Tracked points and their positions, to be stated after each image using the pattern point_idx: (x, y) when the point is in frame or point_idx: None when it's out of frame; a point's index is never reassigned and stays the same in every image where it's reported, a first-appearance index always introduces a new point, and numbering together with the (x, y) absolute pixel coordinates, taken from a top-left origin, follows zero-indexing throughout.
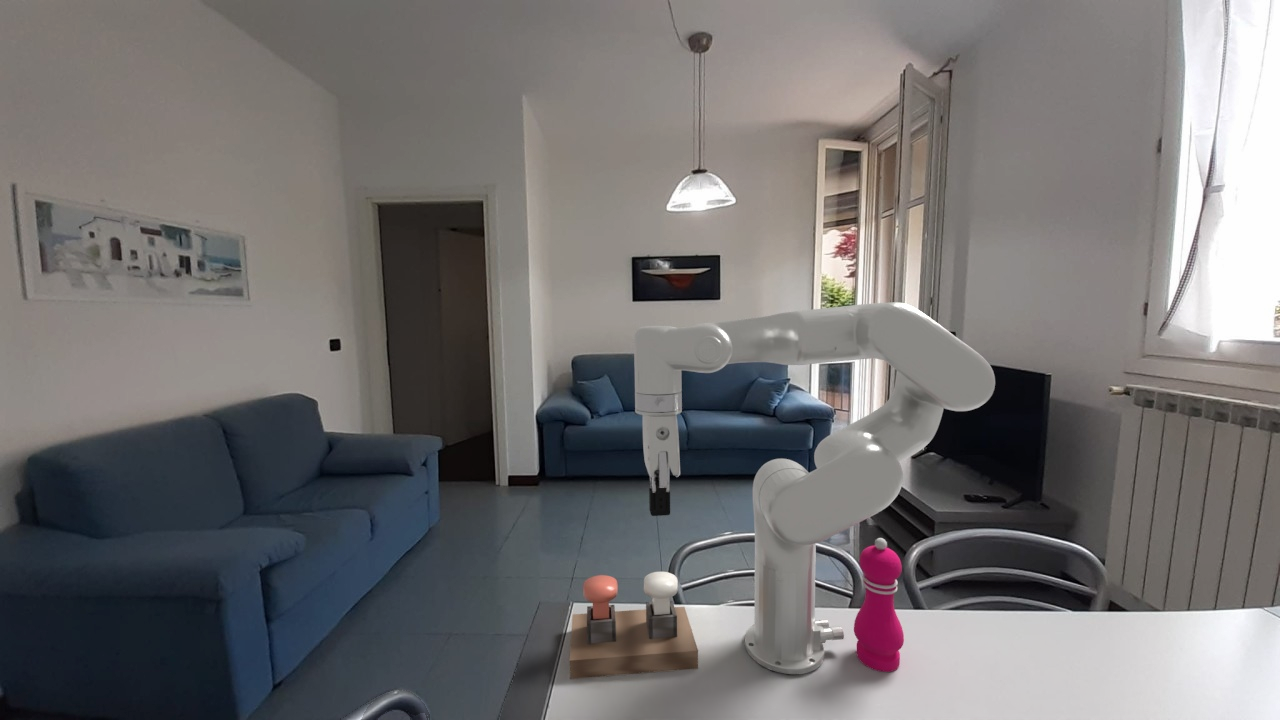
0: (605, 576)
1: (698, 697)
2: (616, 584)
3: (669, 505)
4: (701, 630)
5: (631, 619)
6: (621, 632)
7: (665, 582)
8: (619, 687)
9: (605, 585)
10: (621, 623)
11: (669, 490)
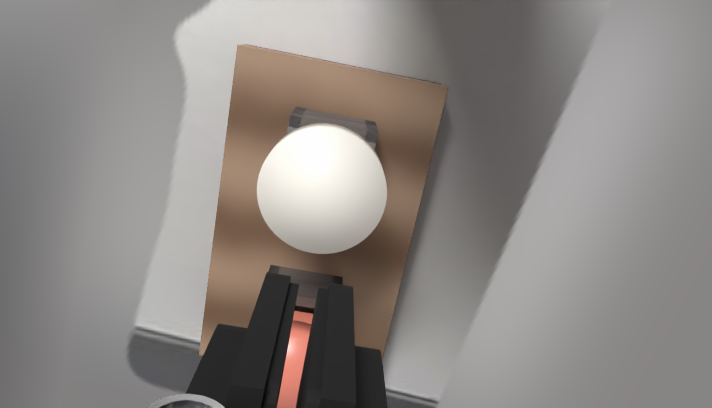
0: None
1: (523, 119)
2: (303, 342)
3: (351, 323)
4: (295, 9)
5: (261, 218)
6: (310, 256)
7: (344, 182)
8: (431, 271)
9: (300, 375)
10: (272, 247)
11: (333, 402)
